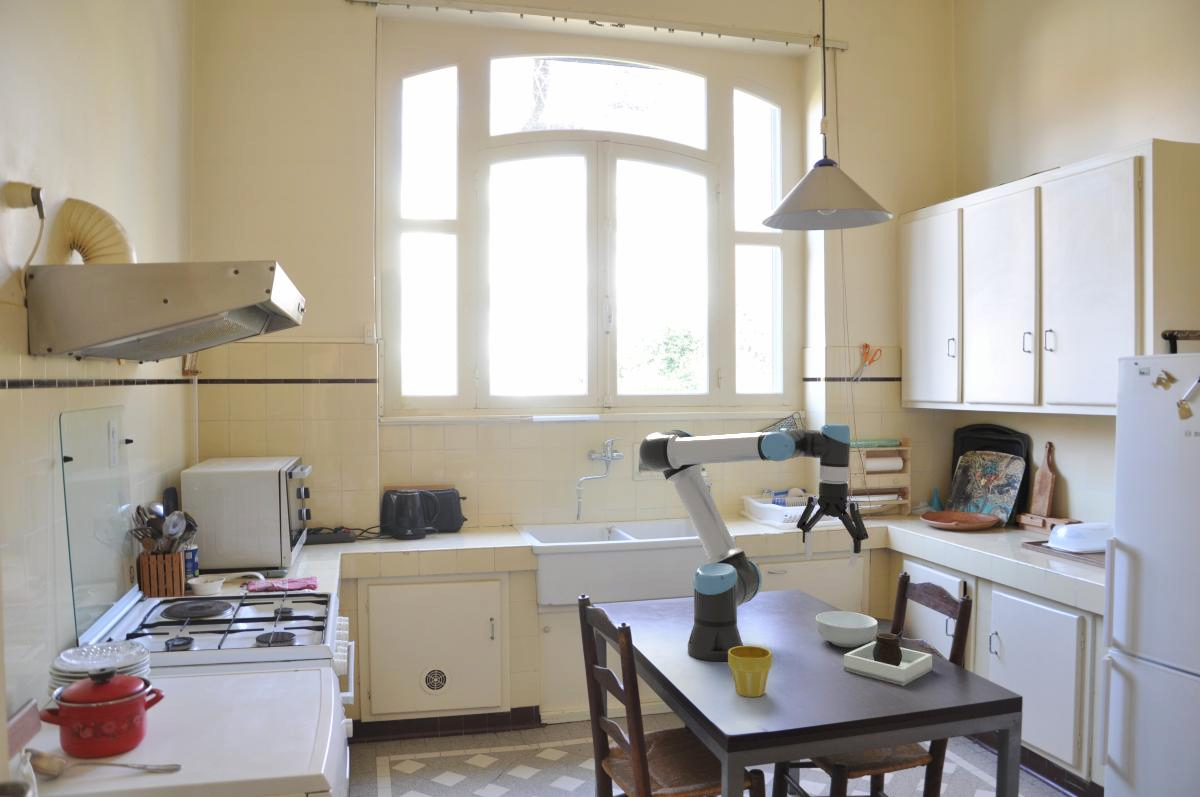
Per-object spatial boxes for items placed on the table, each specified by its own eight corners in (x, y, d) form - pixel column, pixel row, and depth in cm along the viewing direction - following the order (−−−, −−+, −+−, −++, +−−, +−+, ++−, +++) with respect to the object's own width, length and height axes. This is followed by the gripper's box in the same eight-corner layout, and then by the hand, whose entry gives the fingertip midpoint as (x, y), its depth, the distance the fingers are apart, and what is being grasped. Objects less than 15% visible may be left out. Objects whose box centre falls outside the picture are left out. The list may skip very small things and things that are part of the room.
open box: (903, 685, 208) (903, 669, 208) (843, 670, 219) (843, 654, 219) (932, 670, 219) (932, 654, 219) (873, 656, 231) (874, 641, 231)
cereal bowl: (837, 655, 231) (837, 629, 231) (804, 638, 247) (804, 613, 247) (890, 649, 237) (890, 623, 237) (854, 632, 253) (854, 608, 252)
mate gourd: (870, 660, 224) (871, 622, 223) (901, 663, 222) (902, 624, 222) (873, 669, 217) (874, 630, 216) (905, 672, 215) (905, 632, 215)
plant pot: (718, 690, 205) (718, 650, 205) (748, 681, 211) (748, 642, 211) (751, 703, 197) (751, 661, 196) (780, 693, 203) (781, 652, 203)
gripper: (884, 486, 222) (880, 567, 223) (800, 475, 240) (797, 550, 241) (869, 488, 217) (866, 571, 218) (785, 477, 235) (782, 553, 236)
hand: (830, 560), depth 229 cm, fingers open, 13 cm apart
